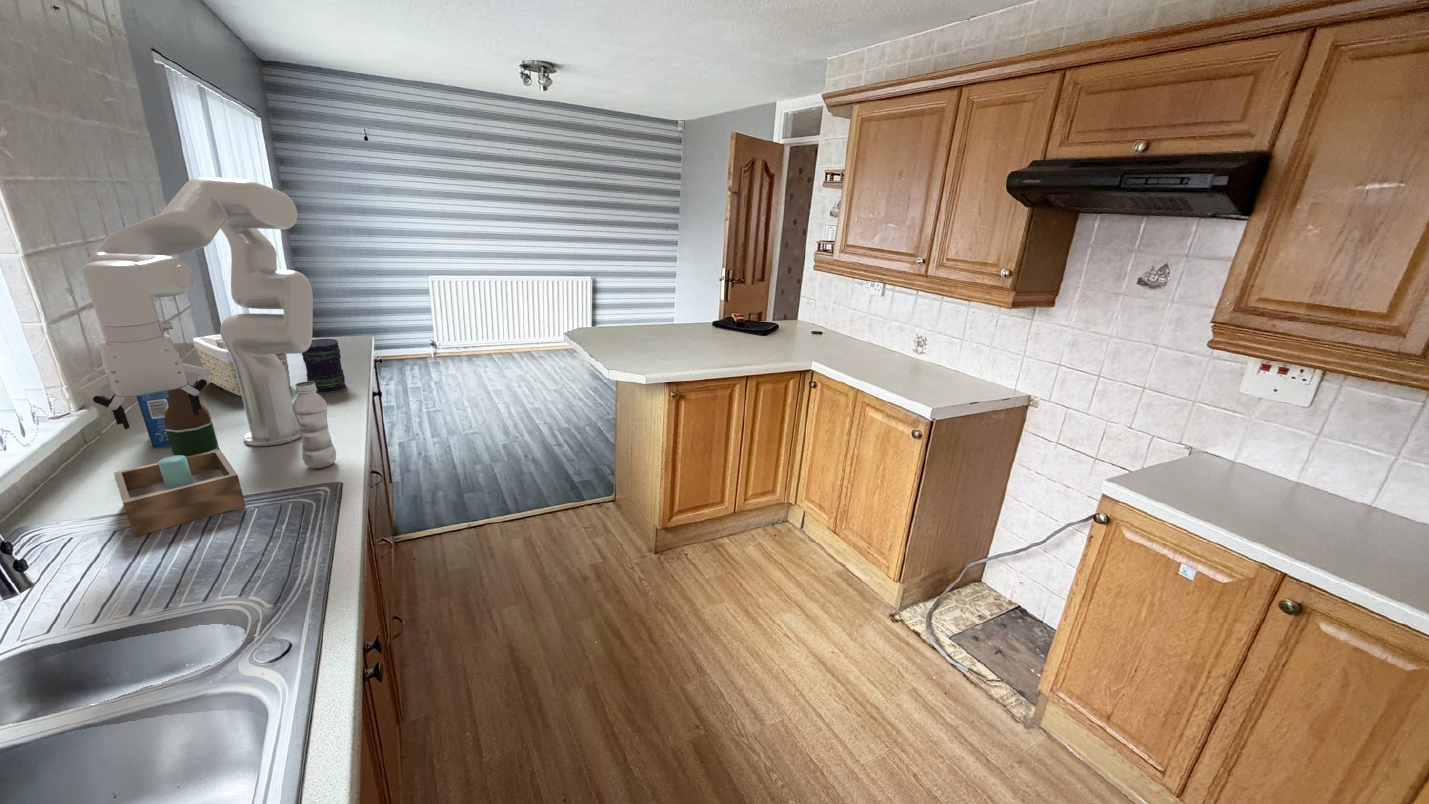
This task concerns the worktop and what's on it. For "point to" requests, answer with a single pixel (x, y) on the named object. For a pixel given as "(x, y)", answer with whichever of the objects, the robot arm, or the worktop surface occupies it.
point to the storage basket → (223, 363)
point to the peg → (175, 471)
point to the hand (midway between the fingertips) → (162, 419)
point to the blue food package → (155, 416)
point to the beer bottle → (188, 427)
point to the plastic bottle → (313, 426)
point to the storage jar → (324, 365)
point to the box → (179, 493)
